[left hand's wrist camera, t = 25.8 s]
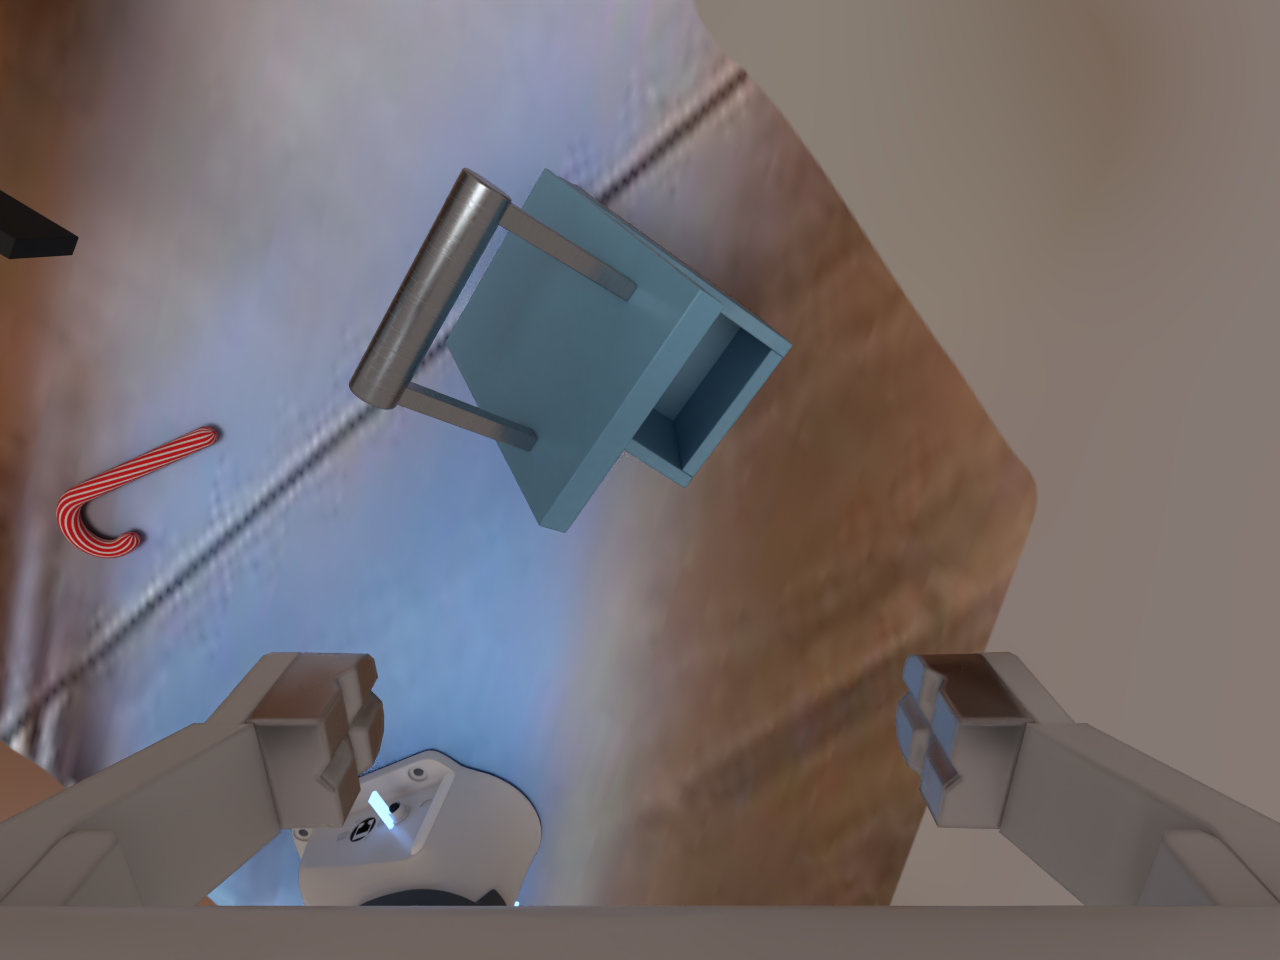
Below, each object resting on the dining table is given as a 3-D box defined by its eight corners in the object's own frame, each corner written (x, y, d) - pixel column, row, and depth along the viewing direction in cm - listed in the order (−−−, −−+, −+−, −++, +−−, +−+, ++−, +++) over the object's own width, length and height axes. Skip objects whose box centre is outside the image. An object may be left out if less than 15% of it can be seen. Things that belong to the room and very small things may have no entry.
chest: (759, 317, 46) (793, 345, 36) (675, 433, 49) (685, 489, 39) (575, 185, 43) (556, 174, 33) (498, 317, 46) (458, 344, 36)
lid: (726, 306, 22) (518, 163, 17) (565, 533, 25) (346, 473, 20) (565, 181, 33) (407, 70, 28) (465, 351, 36) (305, 280, 31)
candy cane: (263, 490, 51) (253, 498, 49) (102, 563, 53) (88, 573, 52) (214, 419, 49) (201, 425, 47) (48, 498, 51) (32, 506, 50)
